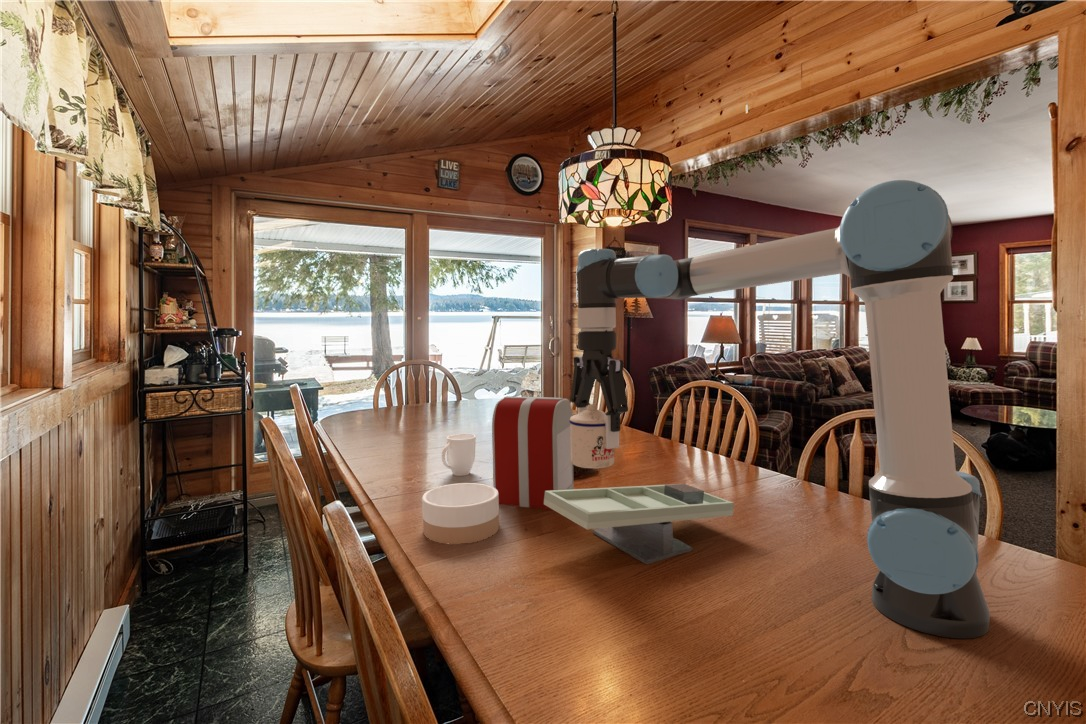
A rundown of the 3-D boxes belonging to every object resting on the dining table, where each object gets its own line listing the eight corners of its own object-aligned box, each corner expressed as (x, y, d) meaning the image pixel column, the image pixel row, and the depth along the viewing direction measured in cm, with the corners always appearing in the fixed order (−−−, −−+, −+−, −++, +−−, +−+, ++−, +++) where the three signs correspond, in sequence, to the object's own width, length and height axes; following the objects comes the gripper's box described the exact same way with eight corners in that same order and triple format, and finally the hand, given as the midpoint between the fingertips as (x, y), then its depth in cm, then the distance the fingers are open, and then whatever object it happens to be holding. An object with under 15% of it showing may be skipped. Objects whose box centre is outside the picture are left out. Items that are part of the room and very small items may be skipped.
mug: (462, 468, 175) (462, 431, 174) (481, 473, 169) (481, 435, 168) (434, 476, 166) (433, 438, 164) (453, 482, 160) (453, 442, 159)
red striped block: (557, 510, 135) (555, 403, 133) (492, 503, 140) (489, 401, 138) (574, 490, 150) (573, 394, 148) (515, 485, 156) (513, 392, 154)
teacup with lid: (597, 472, 101) (596, 410, 100) (560, 463, 107) (559, 405, 106) (632, 459, 110) (632, 402, 109) (597, 452, 116) (596, 398, 115)
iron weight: (702, 504, 119) (704, 490, 119) (682, 506, 116) (684, 492, 116) (683, 496, 124) (684, 484, 124) (663, 498, 121) (664, 485, 121)
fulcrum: (692, 550, 110) (692, 519, 109) (646, 564, 104) (646, 531, 103) (635, 522, 125) (635, 494, 125) (593, 533, 119) (592, 504, 119)
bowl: (408, 531, 123) (406, 495, 122) (467, 511, 136) (466, 478, 135) (455, 552, 111) (453, 512, 111) (514, 527, 124) (514, 492, 123)
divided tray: (732, 515, 116) (733, 502, 116) (586, 529, 98) (588, 514, 98) (680, 495, 130) (681, 483, 130) (543, 504, 112) (544, 490, 112)
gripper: (648, 330, 98) (648, 451, 100) (582, 329, 117) (583, 431, 119) (614, 331, 95) (615, 457, 96) (552, 329, 114) (554, 435, 115)
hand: (597, 442), depth 108 cm, fingers closed on teacup with lid, 9 cm apart
